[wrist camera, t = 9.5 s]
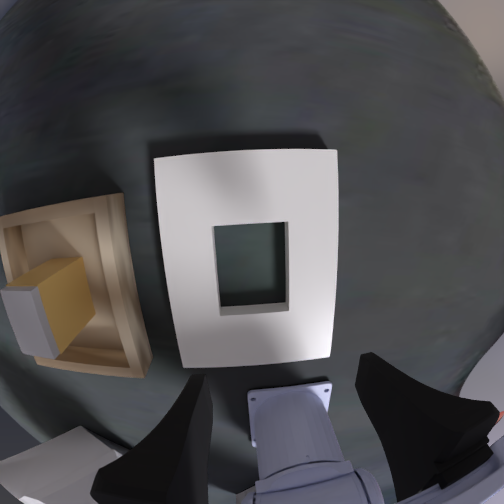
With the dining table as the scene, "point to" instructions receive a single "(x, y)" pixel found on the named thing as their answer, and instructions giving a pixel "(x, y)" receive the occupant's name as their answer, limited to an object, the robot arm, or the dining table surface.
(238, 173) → the socket block
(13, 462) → the white irregular angular block
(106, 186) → the dining table surface
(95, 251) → the parts tray
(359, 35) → the dining table surface
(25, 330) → the block
